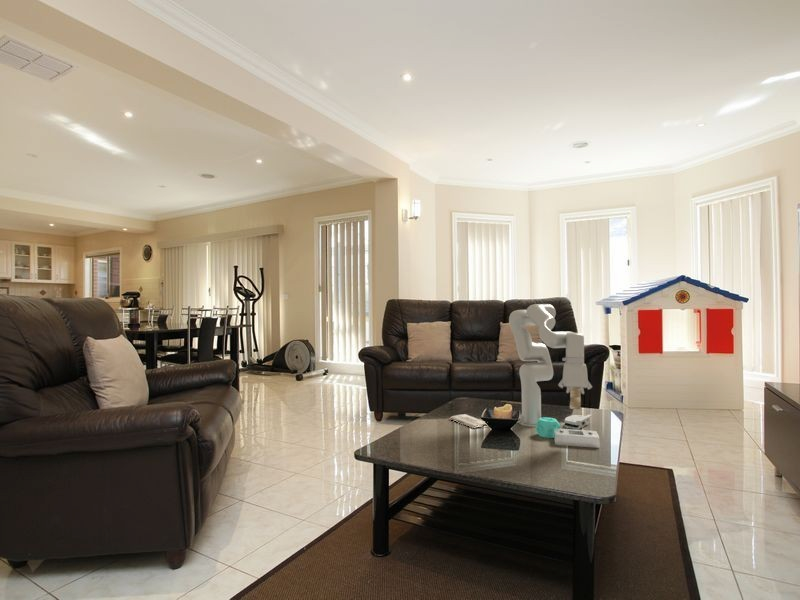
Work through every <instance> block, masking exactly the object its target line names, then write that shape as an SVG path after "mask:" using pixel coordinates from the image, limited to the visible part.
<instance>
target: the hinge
mask: <svg viewBox="0 0 800 600" xmlns="http://www.w3.org/2000/svg"><path fill="white" fill-rule="evenodd" d="M590 417H593V414H590V413H589V414H587V415H582V414H581V415H580V414H572V415H569V416H567V417H565V418H564V421H563V423H564V424H563V425H564V427H565V428H566V429H573V430H581V429H582V428H584V427H585V426H587V425H589V424H590V421H589V419H590Z"/></svg>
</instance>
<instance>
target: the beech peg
mask: <svg viewBox="0 0 800 600" xmlns="http://www.w3.org/2000/svg"><path fill="white" fill-rule="evenodd" d="M581 405H582V403H581V387H570V402H569V408H570V410H582V408H581V407H582V406H581Z"/></svg>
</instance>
